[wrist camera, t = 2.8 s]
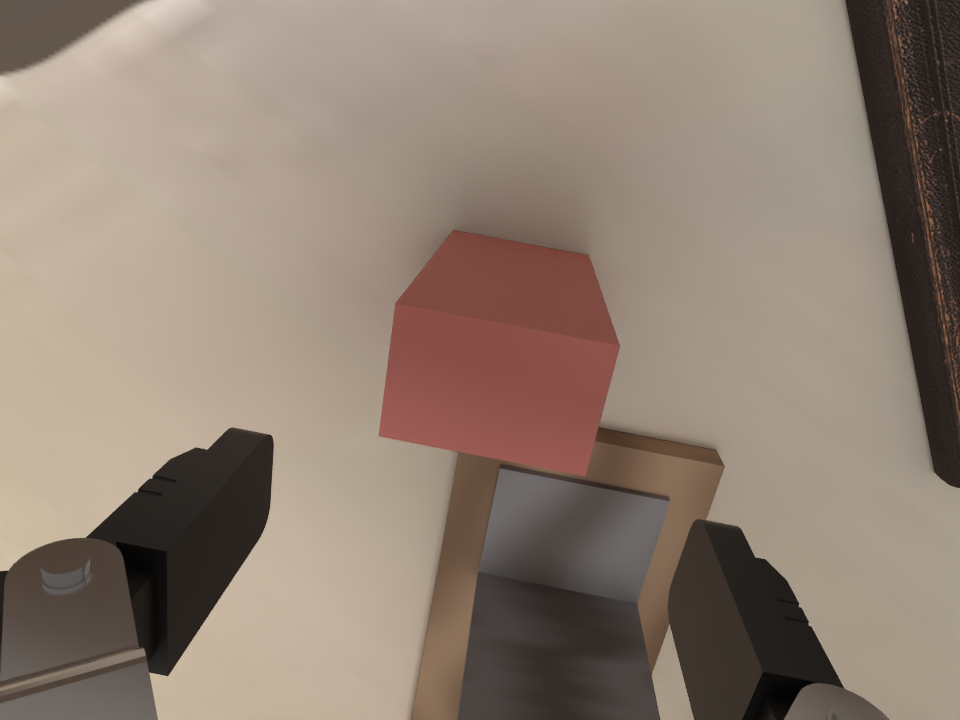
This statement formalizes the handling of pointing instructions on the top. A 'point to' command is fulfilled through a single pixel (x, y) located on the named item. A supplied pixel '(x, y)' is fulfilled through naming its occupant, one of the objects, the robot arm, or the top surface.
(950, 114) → the hardcover book
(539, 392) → the book
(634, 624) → the shelf
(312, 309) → the top surface
